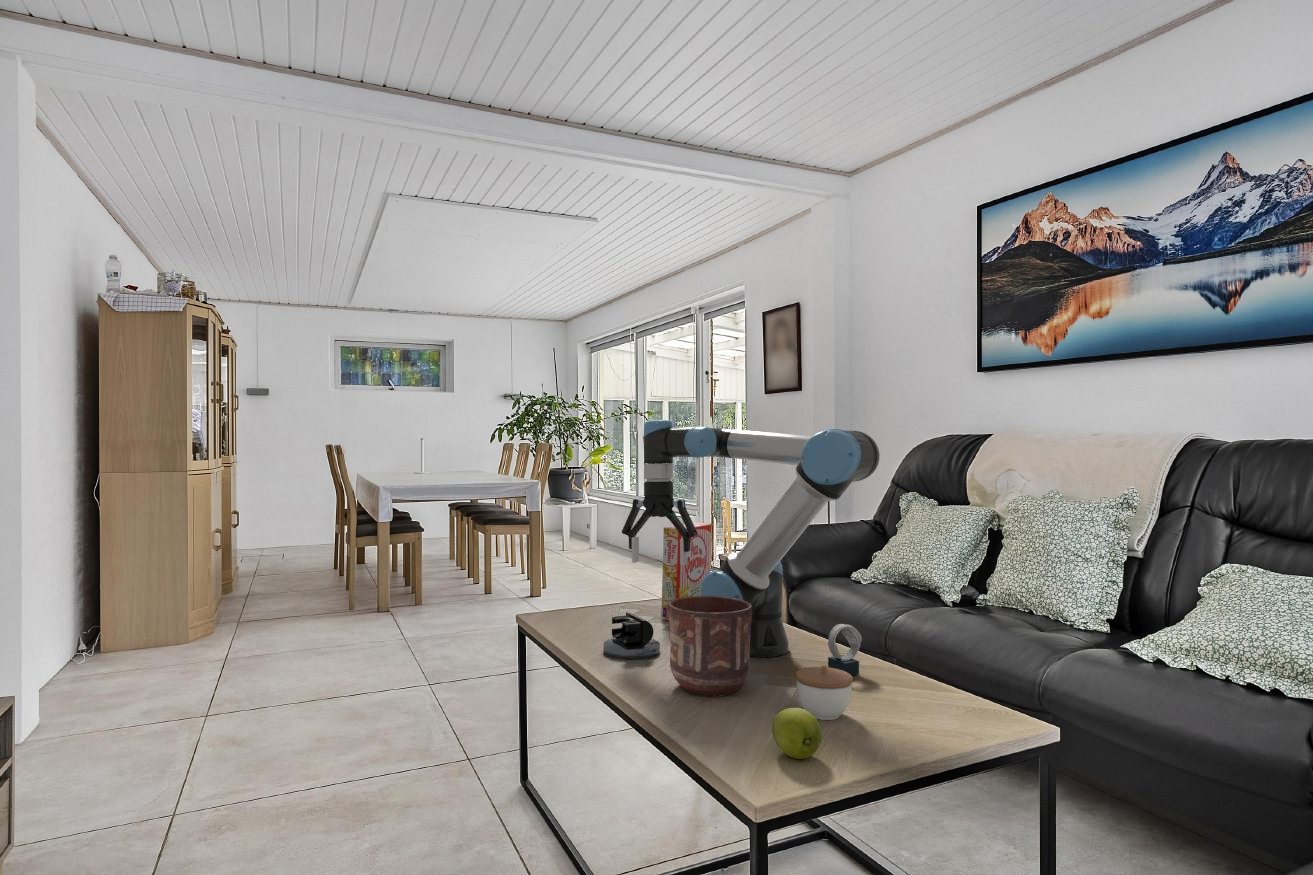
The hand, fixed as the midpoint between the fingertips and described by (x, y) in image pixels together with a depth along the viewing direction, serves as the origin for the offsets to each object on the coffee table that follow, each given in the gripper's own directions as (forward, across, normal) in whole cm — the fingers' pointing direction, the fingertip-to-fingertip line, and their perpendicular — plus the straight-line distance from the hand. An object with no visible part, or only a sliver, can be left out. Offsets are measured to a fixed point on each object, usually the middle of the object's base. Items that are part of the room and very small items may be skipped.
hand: (659, 563), depth 198 cm
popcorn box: (+21, +8, -36) cm, 42 cm away
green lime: (+23, -49, +52) cm, 75 cm away
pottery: (+22, -23, +25) cm, 40 cm away
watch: (+23, -47, +1) cm, 52 cm away
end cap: (+19, +4, +8) cm, 21 cm away
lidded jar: (+23, -48, +30) cm, 62 cm away
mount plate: (+21, +4, +8) cm, 23 cm away
